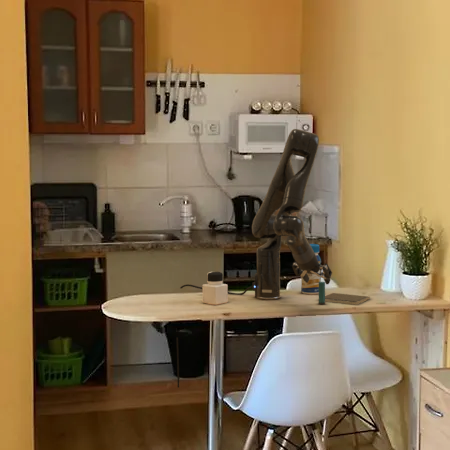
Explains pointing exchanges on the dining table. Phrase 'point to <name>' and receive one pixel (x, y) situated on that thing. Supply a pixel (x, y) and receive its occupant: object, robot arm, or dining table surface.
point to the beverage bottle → (312, 277)
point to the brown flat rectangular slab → (346, 298)
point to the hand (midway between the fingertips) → (317, 281)
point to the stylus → (321, 293)
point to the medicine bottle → (215, 289)
